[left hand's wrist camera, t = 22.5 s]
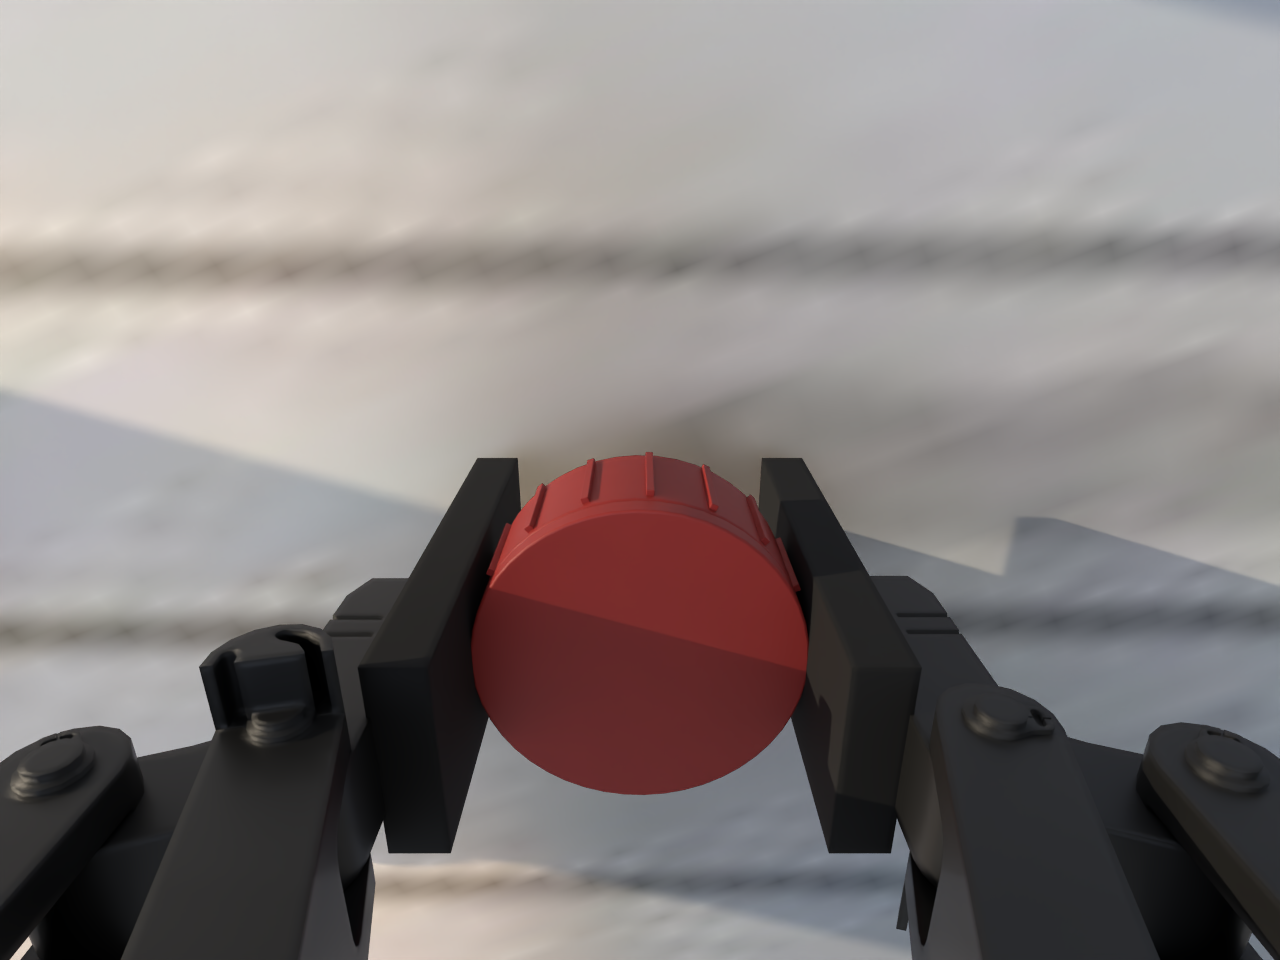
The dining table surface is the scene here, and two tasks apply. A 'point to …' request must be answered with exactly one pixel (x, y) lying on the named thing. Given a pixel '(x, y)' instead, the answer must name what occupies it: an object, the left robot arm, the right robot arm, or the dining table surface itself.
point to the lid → (640, 628)
